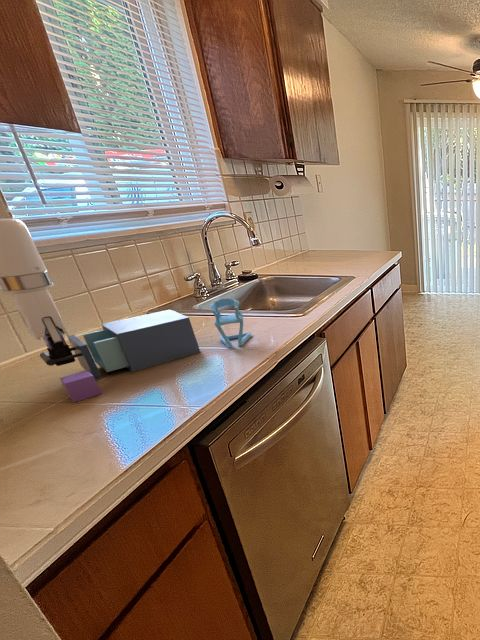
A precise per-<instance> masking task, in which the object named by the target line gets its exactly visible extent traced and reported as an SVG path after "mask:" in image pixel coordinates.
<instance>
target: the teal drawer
mask: <svg viewBox="0 0 480 640" xmlns="http://www.w3.org/2000/svg"><path fill="white" fill-rule="evenodd" d="M82 336H83V339H84V341H85V342H84V341H83V340H81V339H80V337H78V336H77V335H75V334H69V335H67V336H66V337H67V339H68V342H69V344H70V345H71V347H69V348H70V350H71V352H72V351H73V352H74V354H73V355H70V356H66V357H62V358H58V359H53V358H52V357H51V356H50V354H49V352H40V354H39V357H40V359H41V360H42V361H43V362H44V363H45V364H46V365H47V366H50V367H51V366H54V365H56V364H55V363H56V362H60V361H64V360H68V359H72V358H75V359H76V358H77V360H78V362H79V364H80V366H81V368H83V370H84V371H88V372H90V373H91V374H92V375H93V376H94V379H98V378H100V377H102V375H101V373H100V371H99V368H98V366H99V367H100V368H102V370H104V371H105V372H106V373H110V372H113V371H117V370H120V369H123V368H127V366H129V364H128V361H127V359H126V357H125V354H124V352H123V349H122V347H121V345H120V342H119V340H118V337H117V336H115V335H114V334H112V333H111V332H109V331H108V330H106V329H104V330H103V329H100V330H95V331H91V332H86V333H82ZM97 365H98V366H97Z"/></svg>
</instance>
